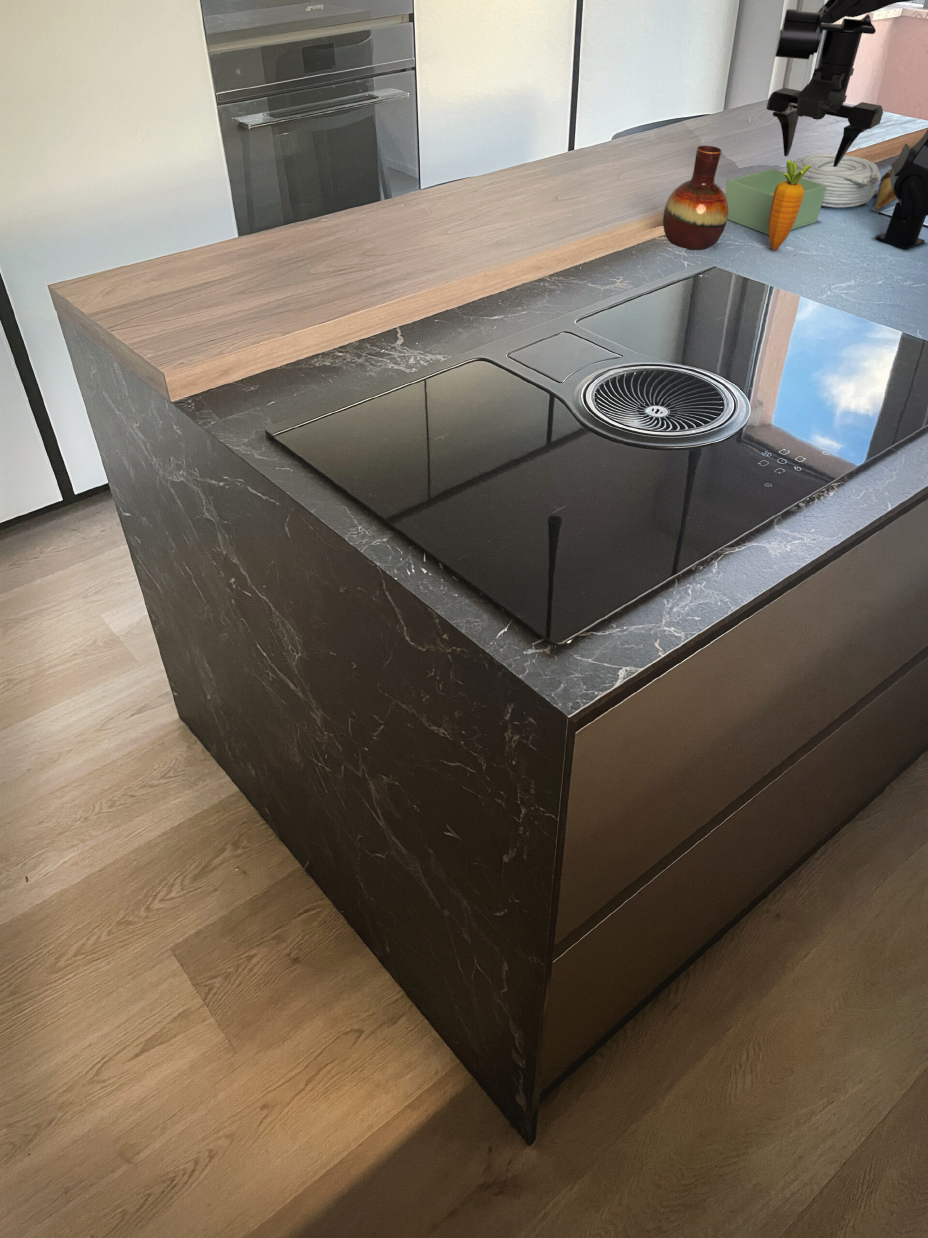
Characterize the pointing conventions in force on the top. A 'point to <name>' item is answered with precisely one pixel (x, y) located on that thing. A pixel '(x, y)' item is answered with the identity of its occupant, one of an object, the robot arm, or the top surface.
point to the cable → (841, 178)
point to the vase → (697, 205)
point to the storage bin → (768, 199)
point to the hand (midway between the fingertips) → (810, 160)
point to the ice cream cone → (885, 192)
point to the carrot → (785, 205)
